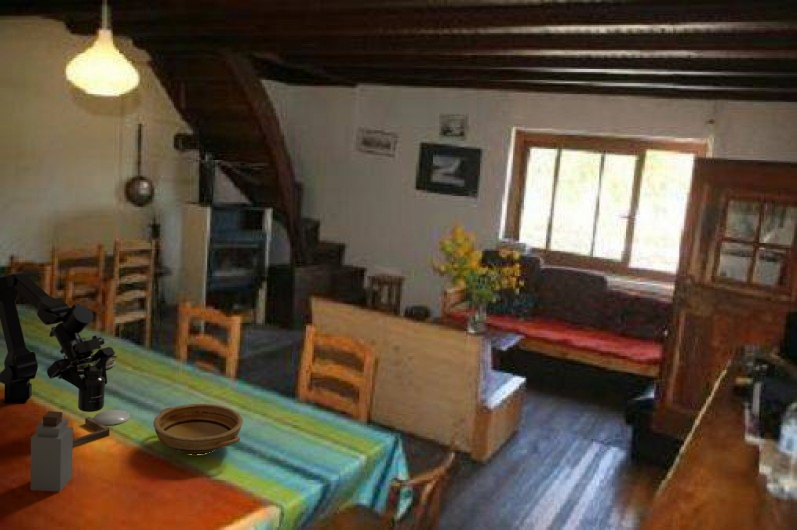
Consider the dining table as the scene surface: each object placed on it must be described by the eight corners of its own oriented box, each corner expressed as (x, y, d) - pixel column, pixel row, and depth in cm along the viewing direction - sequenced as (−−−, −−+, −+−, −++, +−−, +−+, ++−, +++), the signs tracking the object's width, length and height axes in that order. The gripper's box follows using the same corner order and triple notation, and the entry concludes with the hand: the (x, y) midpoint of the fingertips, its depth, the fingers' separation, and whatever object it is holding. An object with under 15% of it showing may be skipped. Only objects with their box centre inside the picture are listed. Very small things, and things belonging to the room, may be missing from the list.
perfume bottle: (43, 475, 161) (44, 407, 158) (71, 477, 161) (73, 409, 158) (30, 490, 154) (31, 419, 151) (60, 491, 155) (61, 421, 152)
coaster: (90, 425, 190) (90, 423, 190) (97, 411, 199) (97, 409, 199) (127, 425, 192) (127, 423, 192) (132, 411, 202) (132, 410, 202)
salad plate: (109, 354, 250) (109, 342, 249) (127, 368, 237) (127, 356, 237) (54, 361, 237) (55, 349, 236) (71, 377, 224) (71, 364, 223)
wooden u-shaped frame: (46, 435, 181) (47, 429, 181) (89, 422, 191) (89, 416, 191) (69, 448, 175) (69, 442, 175) (111, 434, 185) (111, 428, 185)
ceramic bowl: (127, 443, 182) (128, 416, 180) (197, 418, 202) (198, 394, 201) (198, 480, 166) (199, 451, 165) (265, 449, 186) (267, 423, 185)
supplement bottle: (96, 414, 183) (97, 374, 181) (72, 410, 183) (74, 370, 181) (108, 404, 189) (110, 366, 187) (86, 401, 190) (87, 362, 188)
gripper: (54, 333, 176) (81, 382, 173) (112, 320, 192) (137, 365, 189) (35, 354, 180) (60, 402, 178) (93, 339, 197) (117, 383, 194)
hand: (95, 387), depth 185 cm, fingers closed on supplement bottle, 7 cm apart
